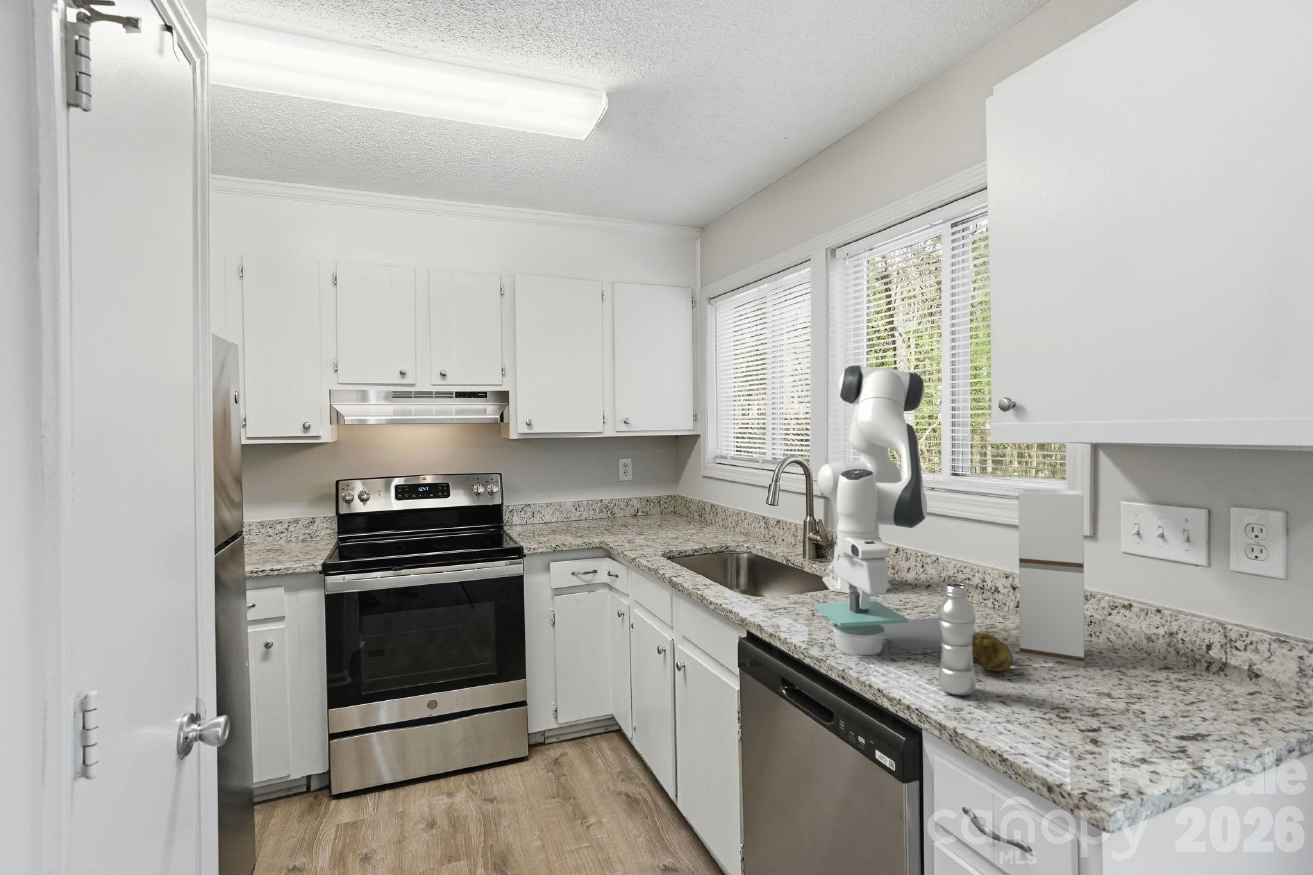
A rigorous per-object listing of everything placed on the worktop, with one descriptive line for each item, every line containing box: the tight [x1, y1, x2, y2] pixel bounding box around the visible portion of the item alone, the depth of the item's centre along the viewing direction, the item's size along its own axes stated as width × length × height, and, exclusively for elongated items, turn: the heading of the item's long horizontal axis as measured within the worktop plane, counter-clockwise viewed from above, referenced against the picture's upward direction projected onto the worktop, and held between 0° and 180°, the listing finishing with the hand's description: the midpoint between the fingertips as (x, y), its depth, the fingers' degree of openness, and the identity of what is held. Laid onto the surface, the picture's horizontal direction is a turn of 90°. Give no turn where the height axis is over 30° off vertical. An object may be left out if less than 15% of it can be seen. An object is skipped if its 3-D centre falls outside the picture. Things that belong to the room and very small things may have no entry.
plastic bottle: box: [937, 582, 977, 696], centre depth 122 cm, size 6×7×20 cm
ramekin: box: [832, 623, 885, 657], centre depth 146 cm, size 11×11×5 cm
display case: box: [1017, 487, 1086, 668], centre depth 141 cm, size 11×11×35 cm
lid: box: [813, 592, 909, 627], centre depth 146 cm, size 15×15×5 cm
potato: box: [972, 632, 1014, 672], centre depth 133 cm, size 8×13×8 cm, turn 116°
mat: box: [880, 617, 942, 651], centre depth 155 cm, size 20×20×1 cm
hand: (858, 605), depth 146 cm, fingers closed on lid, 3 cm apart
